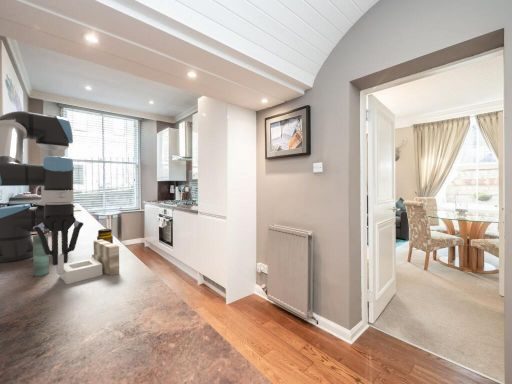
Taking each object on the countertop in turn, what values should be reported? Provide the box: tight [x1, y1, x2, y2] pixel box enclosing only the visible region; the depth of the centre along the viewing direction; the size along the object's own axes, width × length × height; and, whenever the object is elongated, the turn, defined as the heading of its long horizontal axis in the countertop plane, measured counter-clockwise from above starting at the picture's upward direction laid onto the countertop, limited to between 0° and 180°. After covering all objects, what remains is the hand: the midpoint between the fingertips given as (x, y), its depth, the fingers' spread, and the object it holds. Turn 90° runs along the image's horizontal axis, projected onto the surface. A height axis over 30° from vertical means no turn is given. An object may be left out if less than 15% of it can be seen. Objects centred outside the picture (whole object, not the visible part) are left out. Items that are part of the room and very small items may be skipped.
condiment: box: [90, 228, 114, 259], centre depth 105 cm, size 7×8×12 cm
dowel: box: [32, 234, 50, 277], centre depth 83 cm, size 4×4×14 cm
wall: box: [93, 239, 120, 277], centre depth 88 cm, size 17×3×10 cm, turn 51°
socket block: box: [59, 258, 103, 285], centre depth 81 cm, size 10×10×4 cm
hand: (60, 273), depth 77 cm, fingers closed
